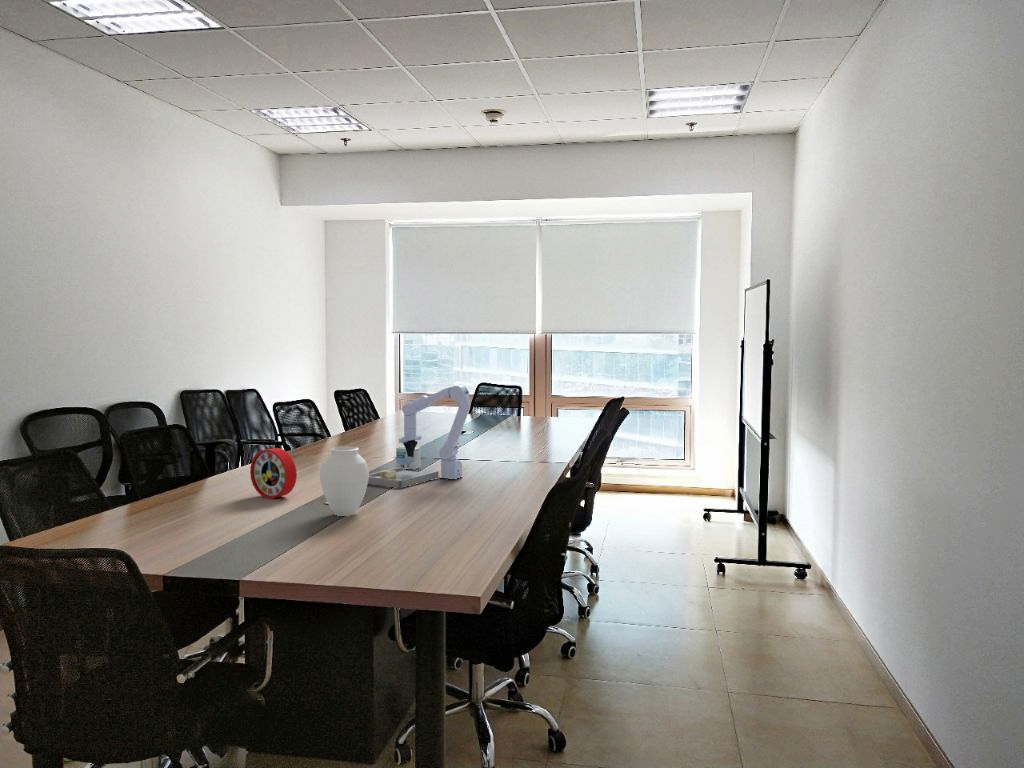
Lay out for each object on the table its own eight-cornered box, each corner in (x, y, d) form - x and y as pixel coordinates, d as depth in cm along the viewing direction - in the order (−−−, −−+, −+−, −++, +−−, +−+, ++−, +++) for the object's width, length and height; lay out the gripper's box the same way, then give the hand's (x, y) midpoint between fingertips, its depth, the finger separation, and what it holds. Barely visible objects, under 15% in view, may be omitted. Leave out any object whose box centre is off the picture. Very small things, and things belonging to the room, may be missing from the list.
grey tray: (438, 478, 359) (438, 471, 359) (400, 488, 335) (400, 480, 335) (401, 474, 370) (401, 466, 370) (361, 483, 346) (361, 475, 346)
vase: (321, 521, 276) (320, 452, 275) (319, 510, 293) (319, 445, 292) (371, 518, 281) (370, 450, 279) (367, 507, 298) (366, 443, 296)
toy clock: (250, 496, 319) (249, 448, 318) (261, 493, 324) (260, 446, 323) (286, 501, 310) (285, 451, 308) (297, 498, 315) (296, 449, 313)
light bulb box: (395, 469, 384) (395, 447, 383) (401, 466, 390) (401, 445, 390) (415, 470, 381) (415, 448, 380) (420, 468, 387) (420, 446, 387)
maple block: (396, 479, 346) (395, 470, 345) (388, 481, 341) (388, 472, 341) (387, 478, 348) (387, 469, 348) (380, 480, 344) (380, 471, 344)
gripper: (413, 425, 372) (413, 453, 372) (393, 428, 359) (393, 457, 360) (424, 426, 368) (424, 455, 369) (405, 430, 356) (405, 459, 356)
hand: (410, 456), depth 364 cm, fingers closed
